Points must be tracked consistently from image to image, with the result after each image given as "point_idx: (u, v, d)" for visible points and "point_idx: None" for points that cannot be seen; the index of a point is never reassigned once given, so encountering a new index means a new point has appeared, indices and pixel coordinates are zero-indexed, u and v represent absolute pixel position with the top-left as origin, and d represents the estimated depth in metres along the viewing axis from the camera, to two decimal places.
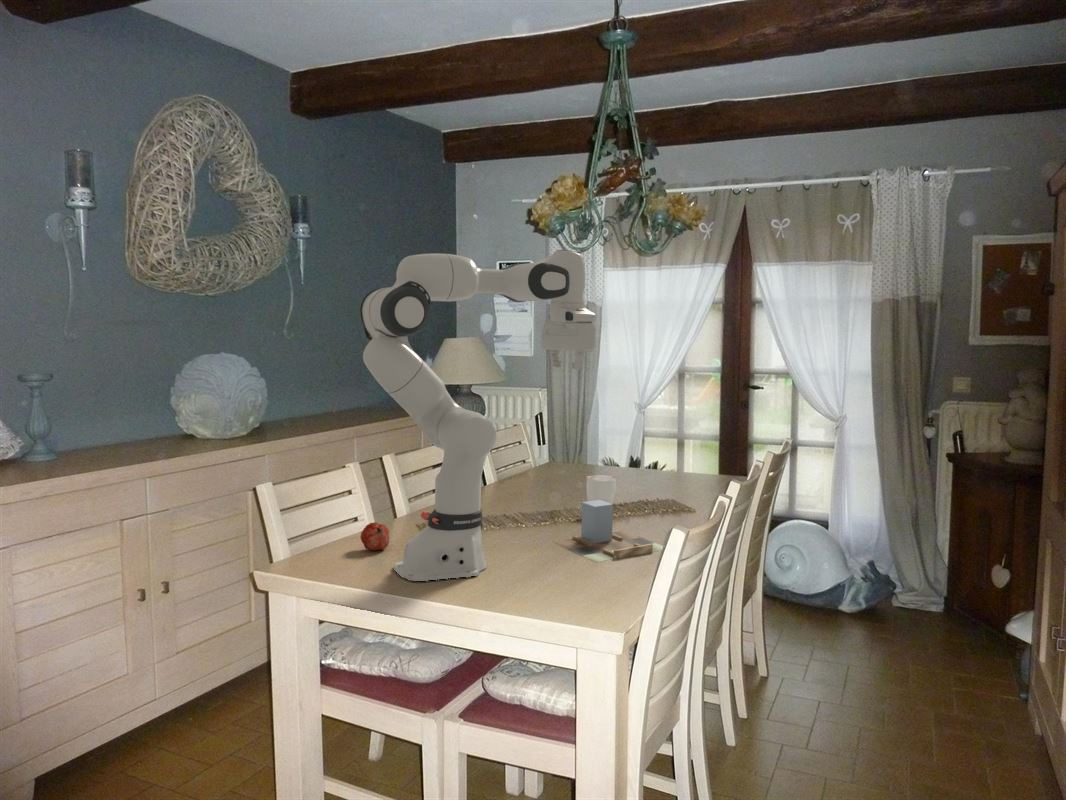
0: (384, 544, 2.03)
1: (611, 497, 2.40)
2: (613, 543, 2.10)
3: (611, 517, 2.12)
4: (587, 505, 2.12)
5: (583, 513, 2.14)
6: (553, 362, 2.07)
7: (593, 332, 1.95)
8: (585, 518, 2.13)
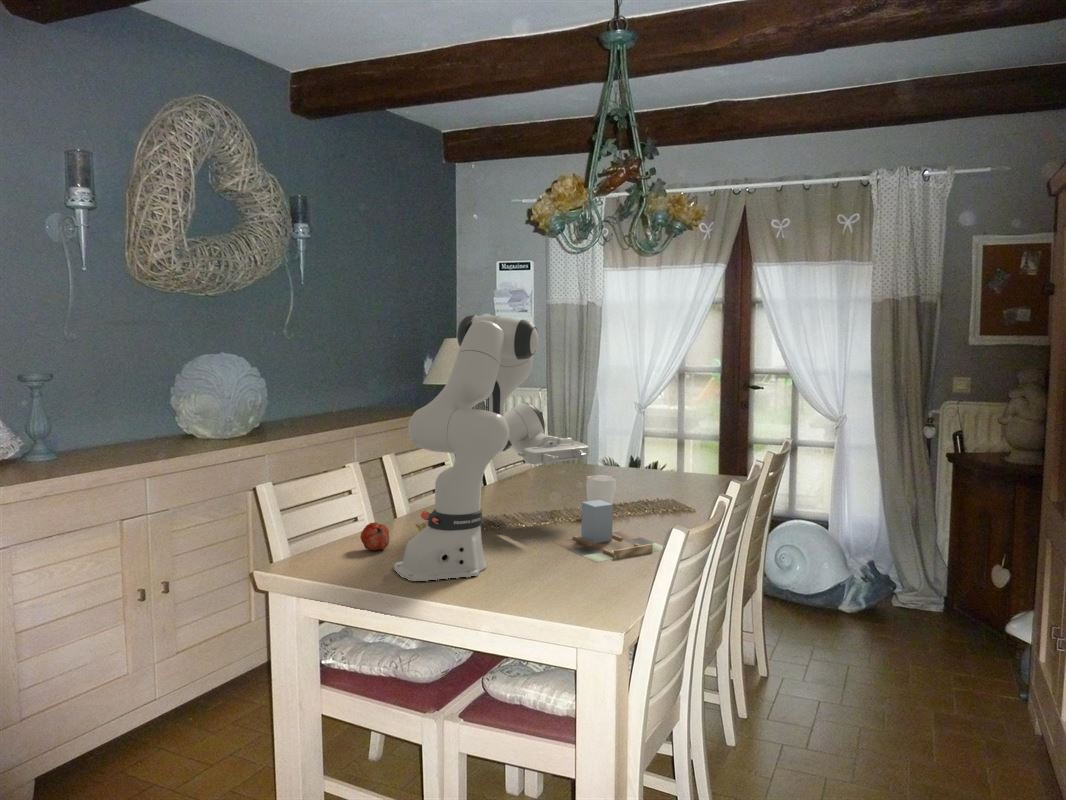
0: (384, 544, 2.03)
1: (611, 497, 2.40)
2: (613, 543, 2.10)
3: (611, 517, 2.12)
4: (587, 505, 2.12)
5: (583, 513, 2.14)
6: (553, 456, 2.23)
7: None
8: (585, 518, 2.13)
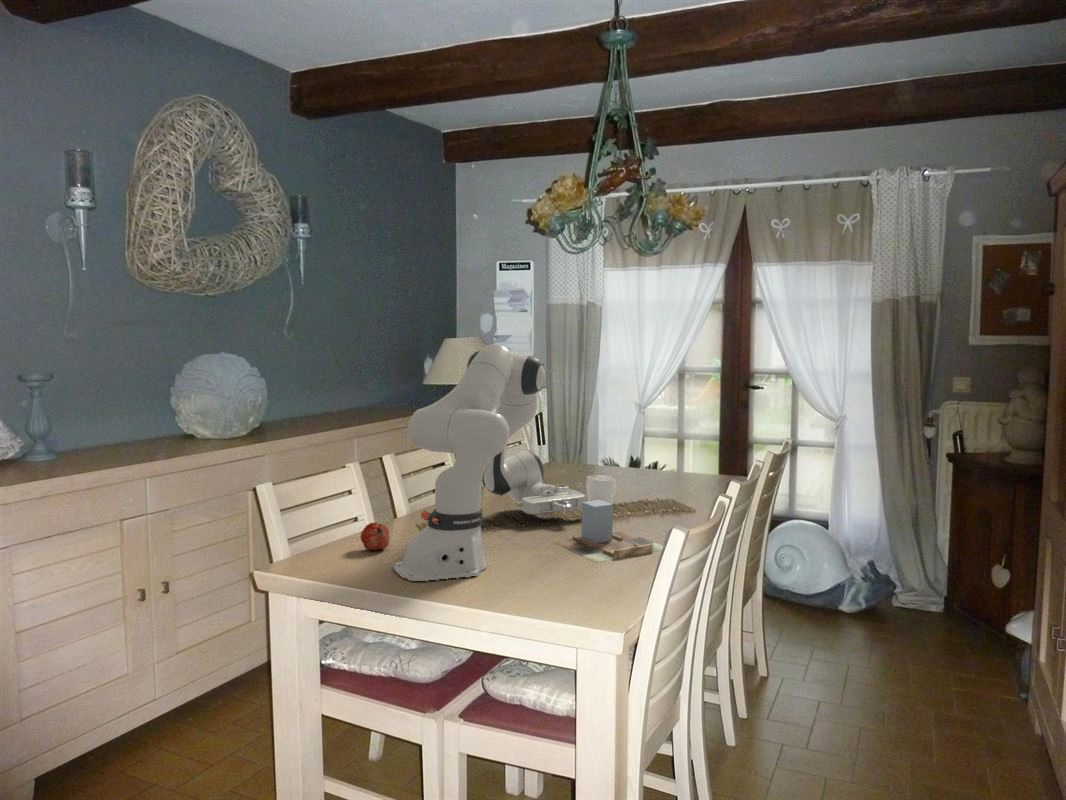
0: (384, 544, 2.03)
1: (611, 497, 2.40)
2: (613, 543, 2.10)
3: (611, 517, 2.12)
4: (587, 505, 2.12)
5: (583, 513, 2.14)
6: (563, 505, 2.27)
7: None
8: (585, 518, 2.13)
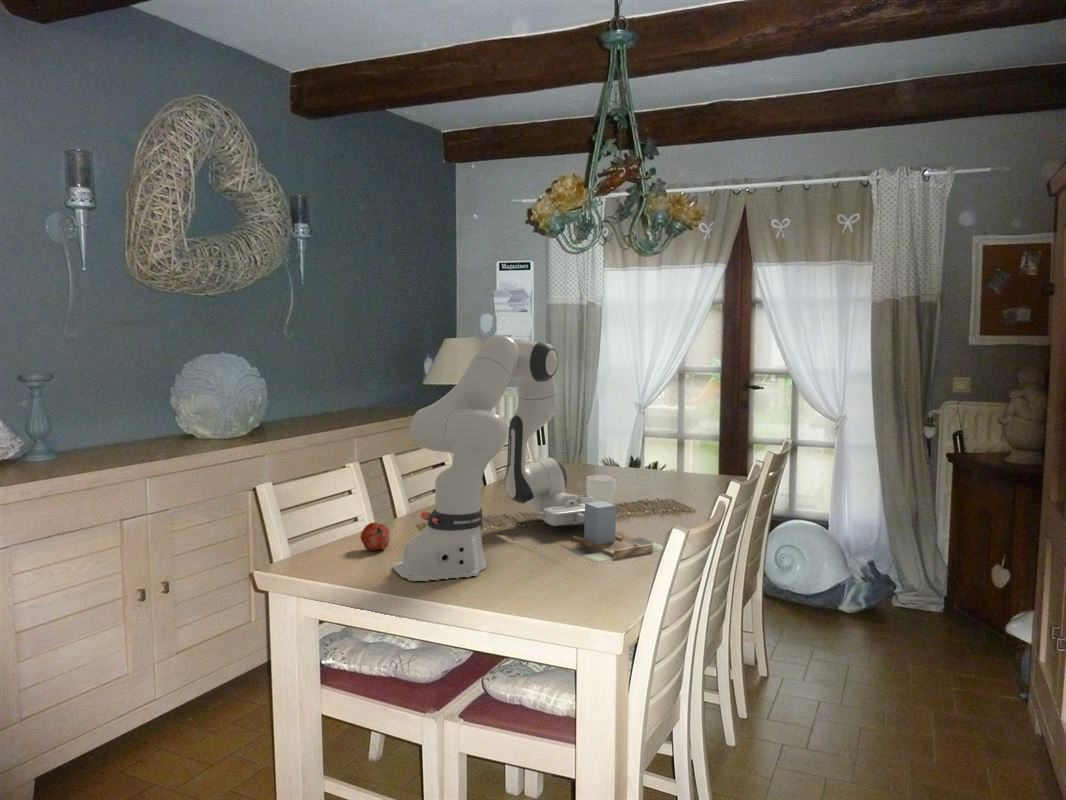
0: (384, 544, 2.03)
1: (611, 497, 2.40)
2: (613, 543, 2.10)
3: (614, 518, 2.11)
4: (590, 506, 2.11)
5: (586, 514, 2.13)
6: None
7: None
8: (588, 519, 2.12)
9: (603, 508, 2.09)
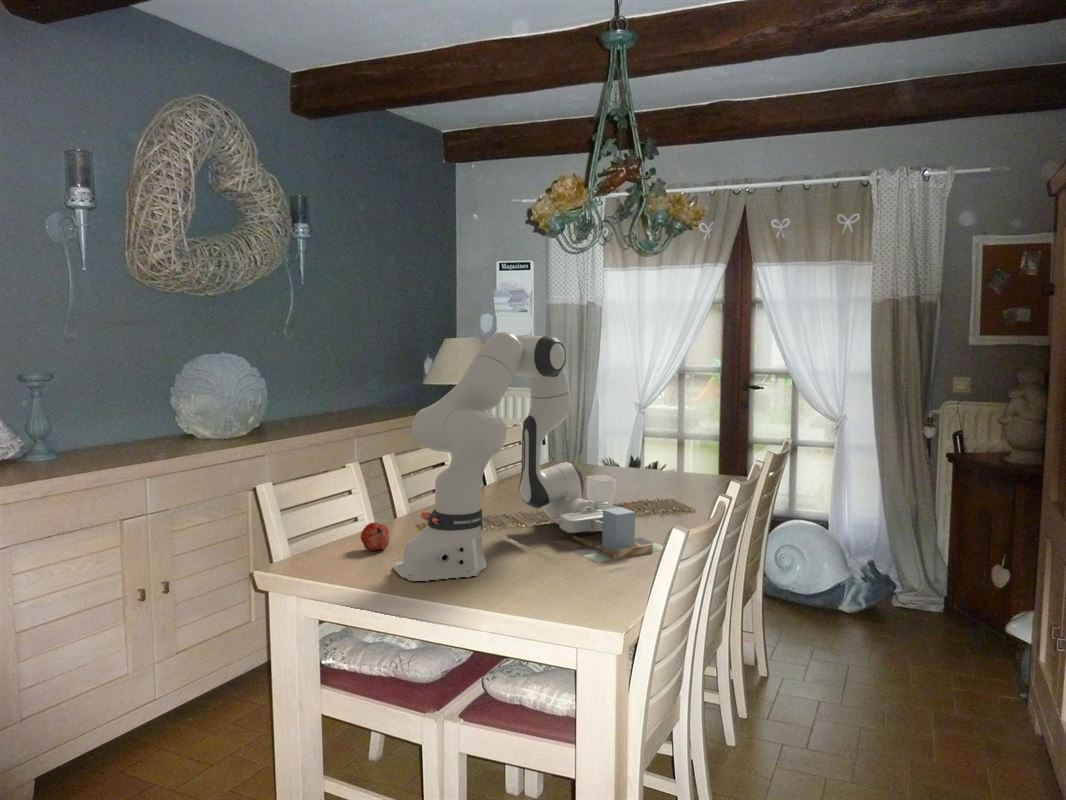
0: (384, 544, 2.03)
1: (611, 497, 2.40)
2: None
3: (633, 525, 2.04)
4: (609, 513, 2.04)
5: (604, 521, 2.06)
6: None
7: None
8: (606, 526, 2.05)
9: (622, 515, 2.02)
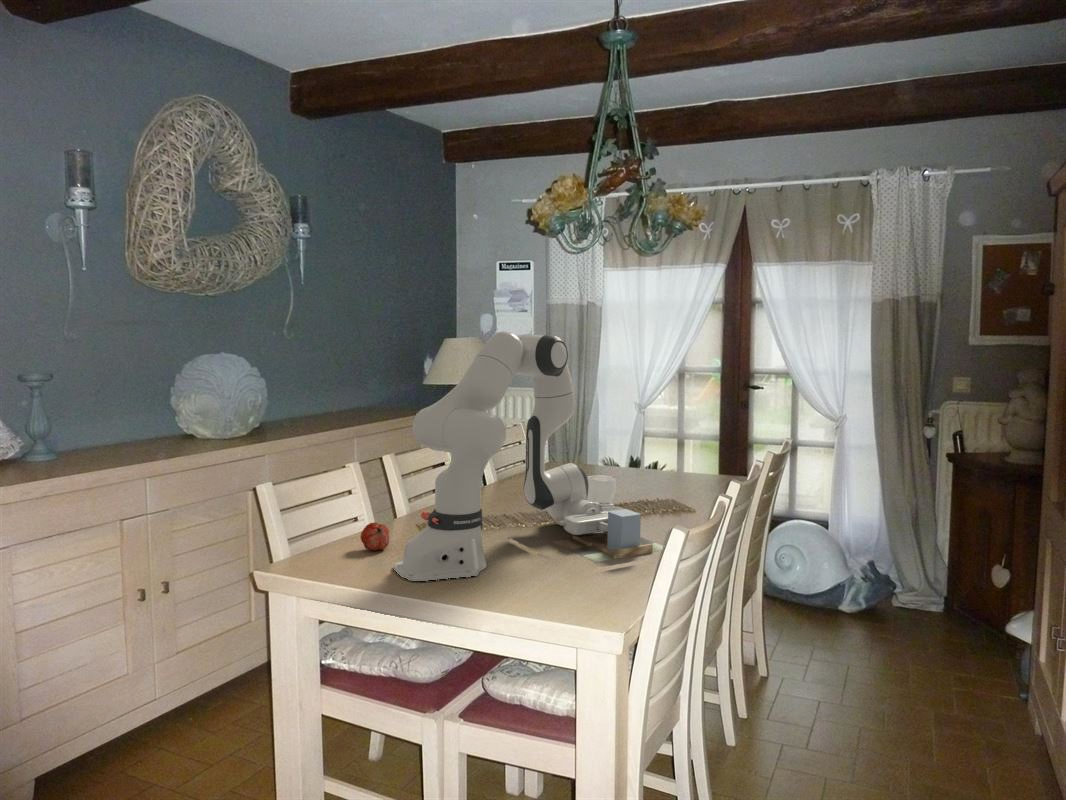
0: (384, 544, 2.03)
1: (611, 497, 2.40)
2: None
3: (639, 527, 2.02)
4: (614, 515, 2.02)
5: (609, 523, 2.04)
6: None
7: None
8: (611, 528, 2.03)
9: (628, 517, 2.00)
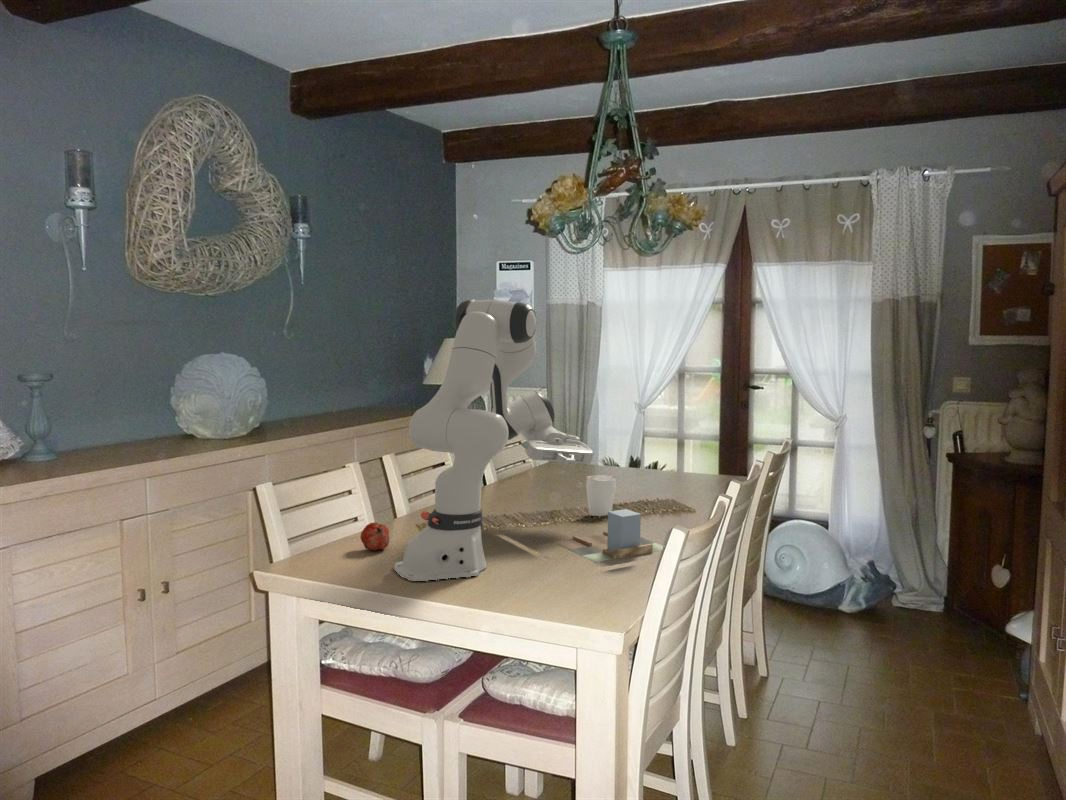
0: (384, 544, 2.03)
1: (611, 497, 2.40)
2: None
3: (639, 527, 2.02)
4: (614, 515, 2.02)
5: (609, 523, 2.04)
6: (567, 458, 2.20)
7: None
8: (611, 528, 2.03)
9: (628, 517, 2.00)
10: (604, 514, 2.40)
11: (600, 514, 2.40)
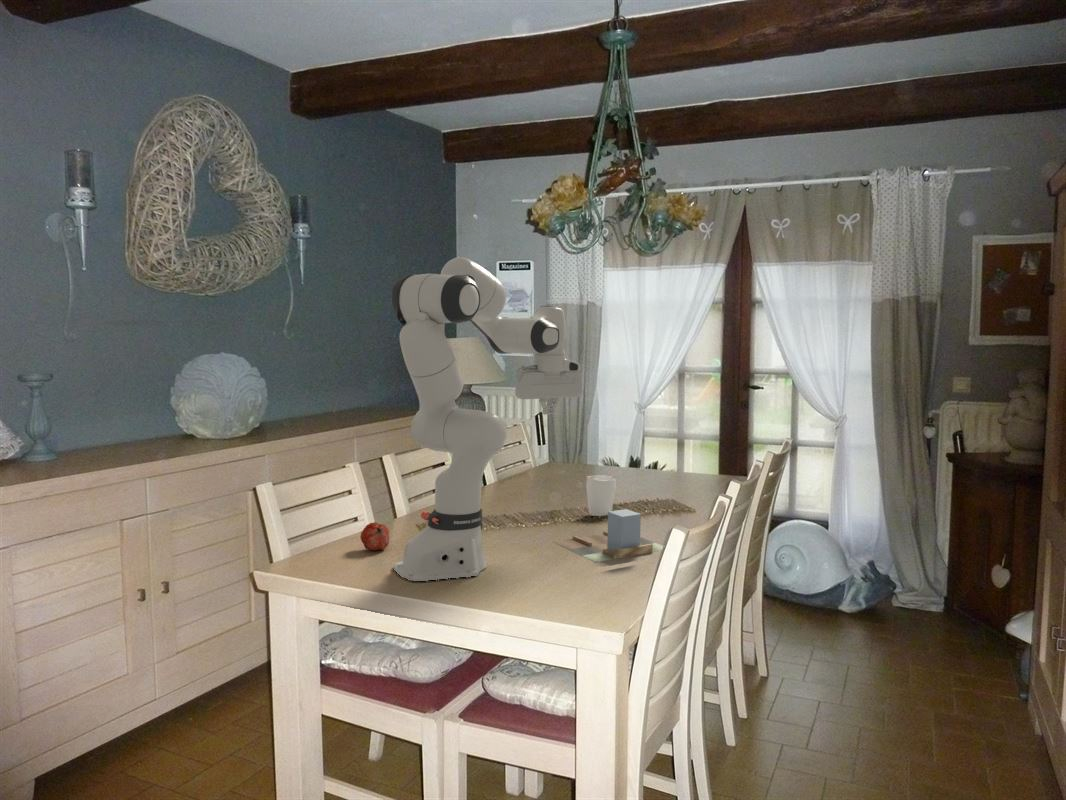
0: (384, 544, 2.03)
1: (611, 497, 2.40)
2: None
3: (639, 527, 2.02)
4: (614, 515, 2.02)
5: (609, 523, 2.04)
6: (548, 410, 2.18)
7: None
8: (611, 528, 2.03)
9: (628, 517, 2.00)
10: (604, 514, 2.40)
11: (600, 514, 2.40)
